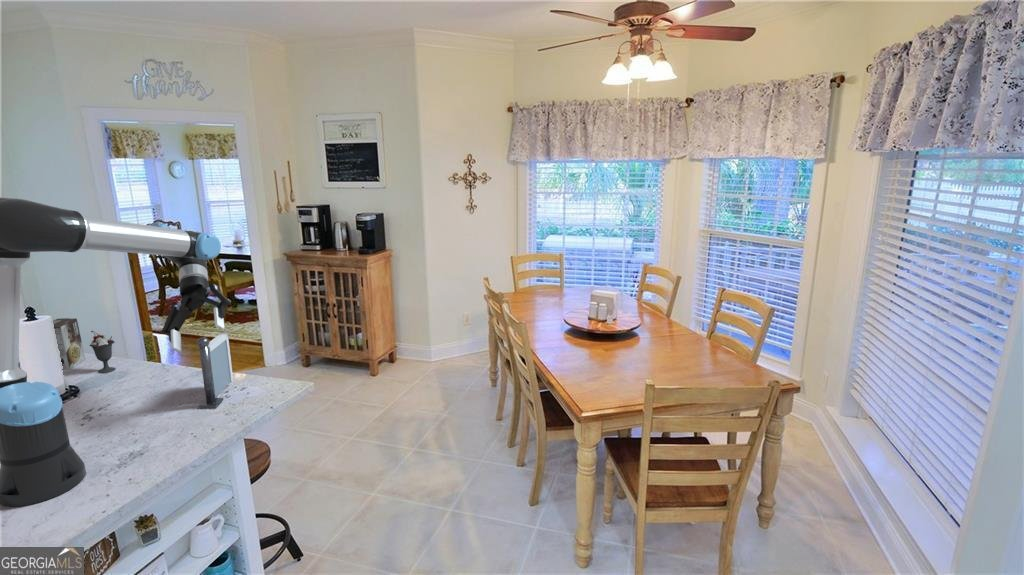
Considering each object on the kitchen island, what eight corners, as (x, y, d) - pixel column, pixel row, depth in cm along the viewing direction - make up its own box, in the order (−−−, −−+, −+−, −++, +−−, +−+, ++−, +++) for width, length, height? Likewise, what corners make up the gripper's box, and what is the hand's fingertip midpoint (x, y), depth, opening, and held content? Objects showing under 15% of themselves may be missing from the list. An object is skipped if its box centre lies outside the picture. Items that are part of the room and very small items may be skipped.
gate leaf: (216, 397, 157) (209, 346, 153) (209, 397, 157) (202, 347, 153) (233, 380, 169) (227, 333, 165) (227, 380, 169) (221, 333, 165)
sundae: (89, 372, 176) (81, 331, 172) (109, 365, 182) (102, 325, 178) (103, 375, 174) (95, 333, 170) (123, 368, 180) (116, 327, 177)
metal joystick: (216, 408, 154) (207, 340, 148) (198, 408, 153) (189, 340, 148) (223, 400, 159) (215, 334, 153) (206, 401, 158) (197, 334, 153)
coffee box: (66, 360, 186) (57, 318, 182) (86, 359, 187) (77, 317, 183) (48, 370, 177) (39, 326, 173) (69, 369, 178) (60, 325, 174)
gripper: (239, 270, 158) (247, 323, 146) (167, 307, 158) (169, 364, 146) (222, 257, 152) (228, 312, 140) (146, 295, 151) (146, 354, 140)
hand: (198, 338), depth 143 cm, fingers open, 13 cm apart
